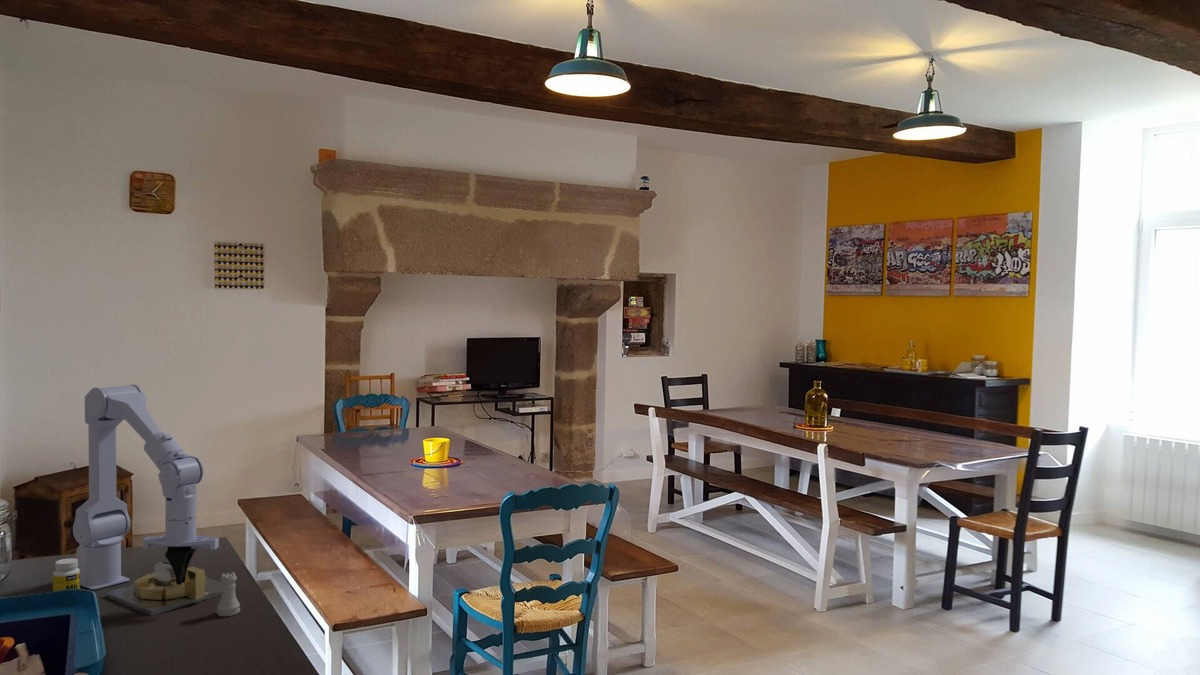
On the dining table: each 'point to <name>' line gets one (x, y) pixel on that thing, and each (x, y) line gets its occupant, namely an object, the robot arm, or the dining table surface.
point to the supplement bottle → (66, 574)
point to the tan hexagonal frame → (172, 586)
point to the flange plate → (153, 606)
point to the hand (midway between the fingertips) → (180, 583)
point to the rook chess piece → (228, 596)
